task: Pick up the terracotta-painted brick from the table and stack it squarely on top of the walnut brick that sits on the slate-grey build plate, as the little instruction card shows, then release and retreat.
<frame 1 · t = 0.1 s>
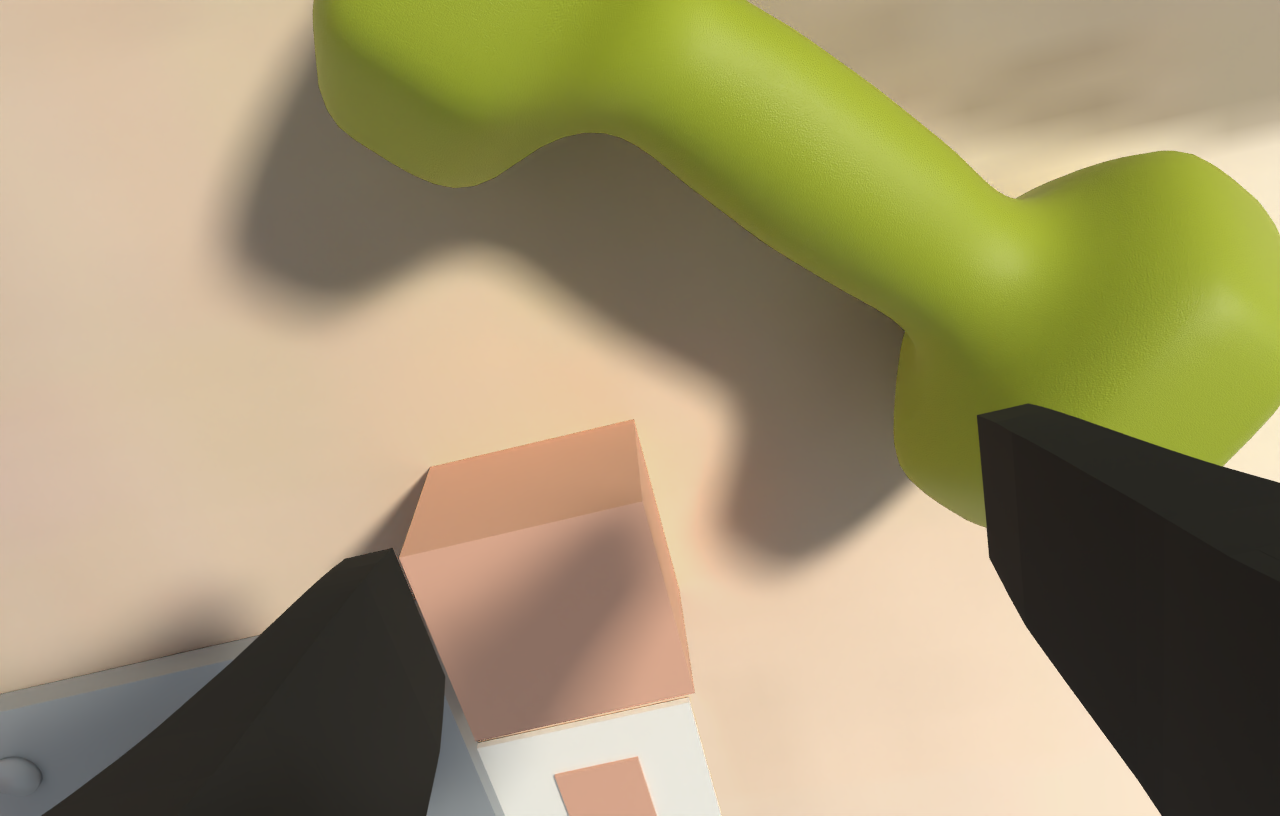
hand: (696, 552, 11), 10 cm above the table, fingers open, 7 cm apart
dumbbell: (777, 137, 19), on the table
terracotta block: (559, 527, 23), on the table
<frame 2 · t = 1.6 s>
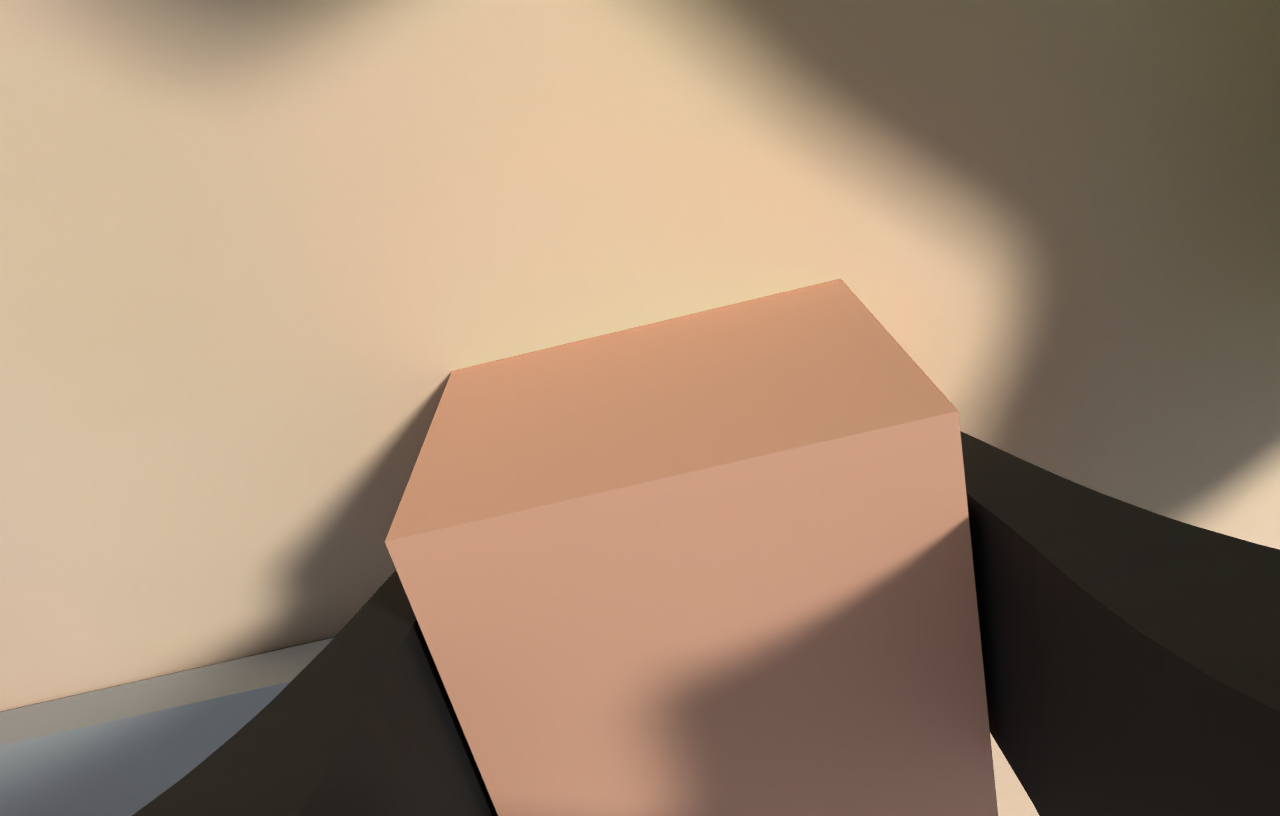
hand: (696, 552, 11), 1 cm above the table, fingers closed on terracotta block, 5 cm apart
terracotta block: (685, 494, 12), on the table, touching gripper
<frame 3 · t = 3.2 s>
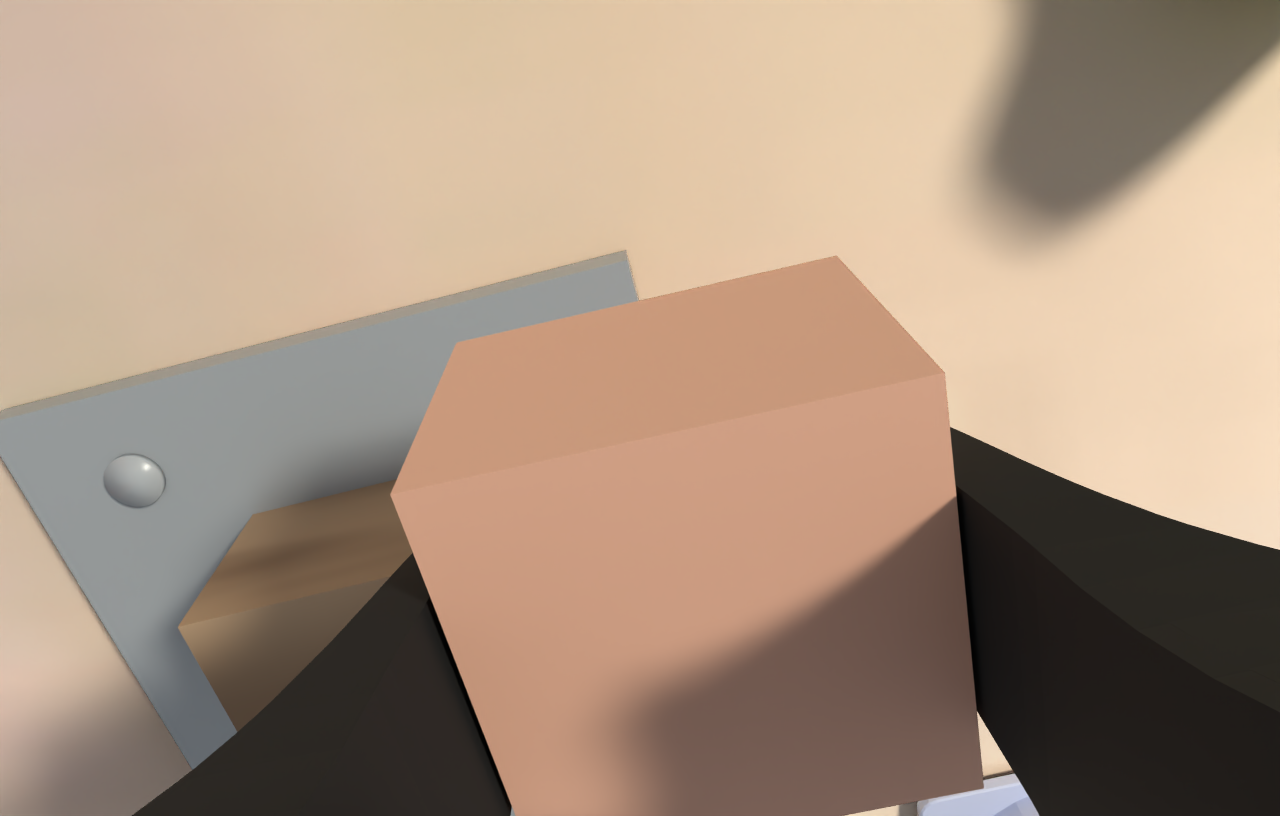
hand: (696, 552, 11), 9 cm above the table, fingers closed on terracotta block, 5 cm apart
build plate: (419, 593, 22), on the table
walnut block: (398, 579, 21), point 1 cm above the table, touching build plate
terracotta block: (683, 467, 13), point 8 cm above the table, touching gripper
when the fingers open (7 cm above the table, at t = 4.6 s): terracotta block stays where it is, resting on walnut block.
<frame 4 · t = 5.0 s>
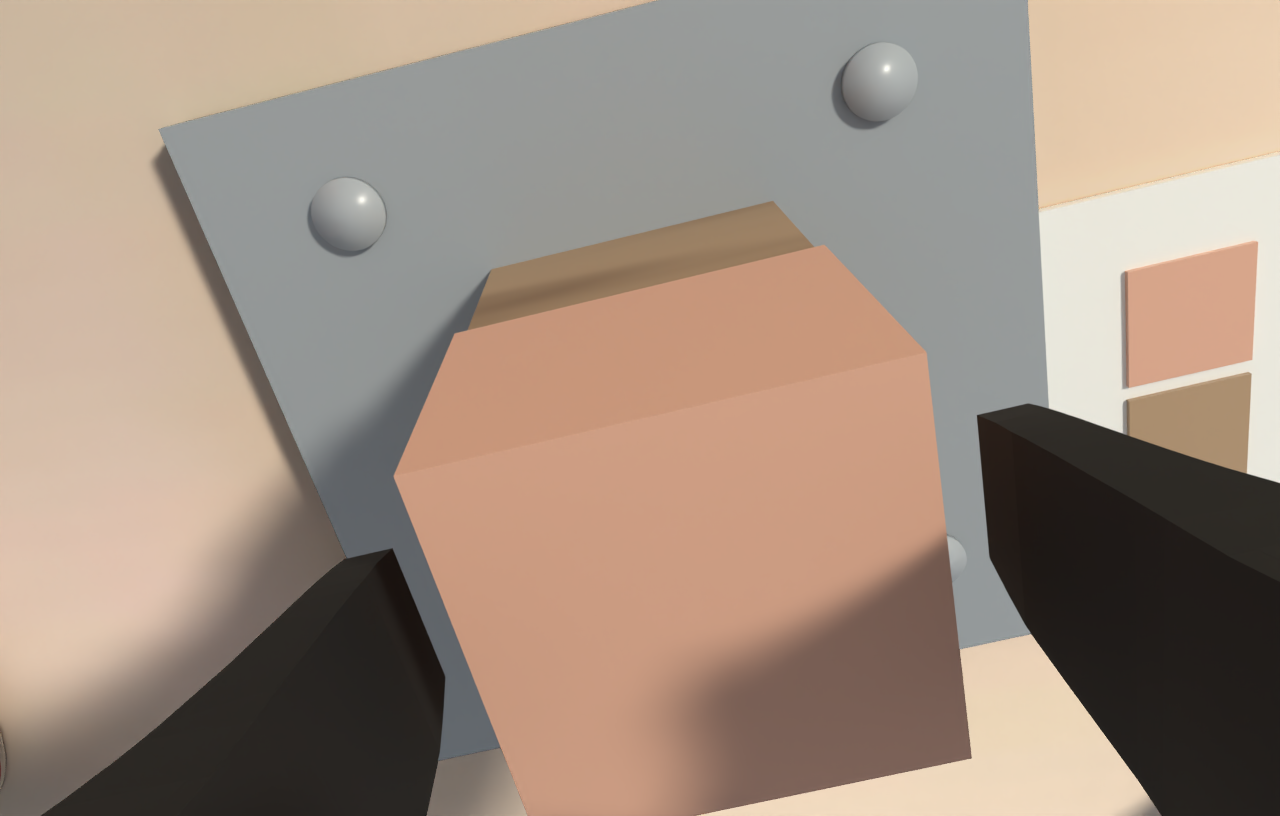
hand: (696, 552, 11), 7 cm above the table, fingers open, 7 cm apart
build plate: (670, 397, 18), on the table
walnut block: (662, 366, 17), point 1 cm above the table, touching build plate, terracotta block
instruction card: (1181, 372, 18), on the table
terracotta block: (677, 453, 13), point 5 cm above the table, touching walnut block
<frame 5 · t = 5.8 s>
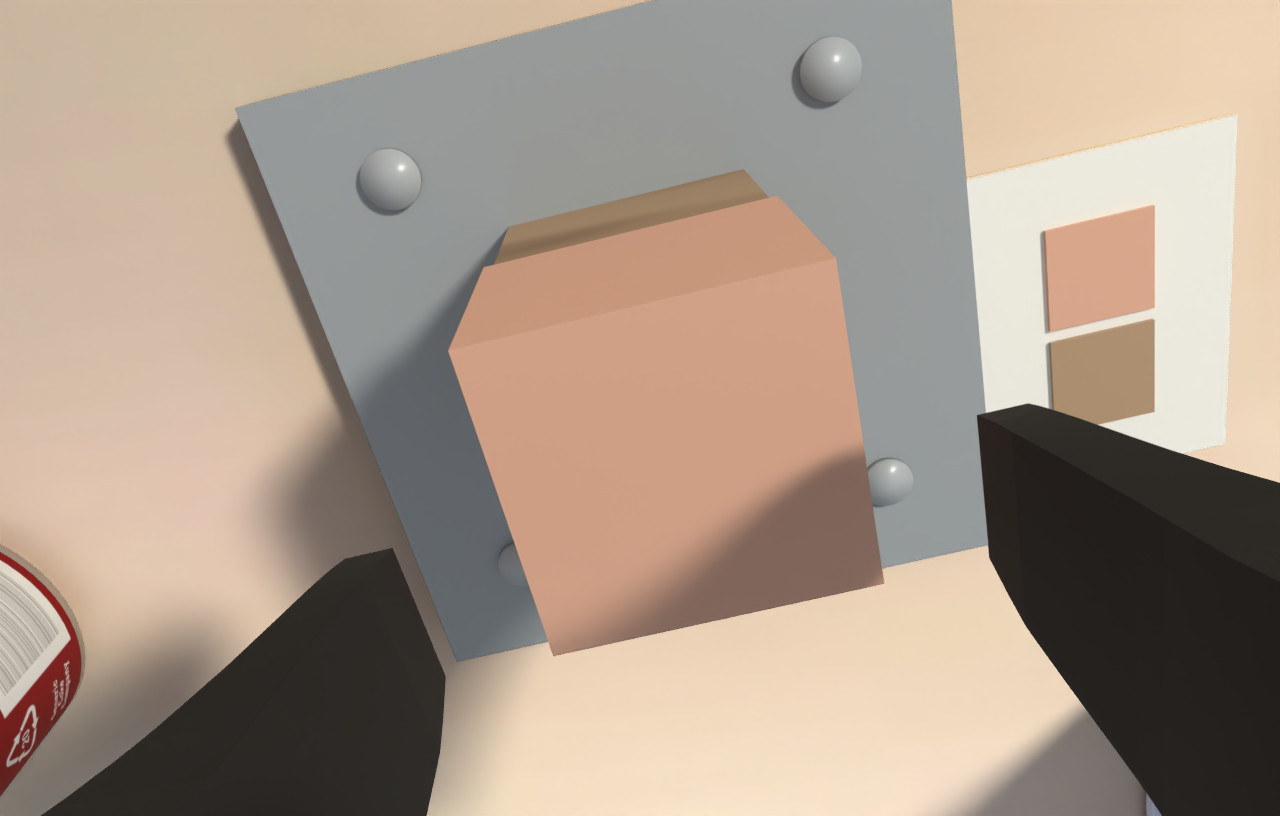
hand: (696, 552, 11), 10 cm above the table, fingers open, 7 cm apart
build plate: (659, 339, 21), on the table
walnut block: (652, 310, 20), point 1 cm above the table, touching build plate, terracotta block
instruction card: (1095, 319, 21), on the table
terracotta block: (662, 368, 16), point 5 cm above the table, touching walnut block
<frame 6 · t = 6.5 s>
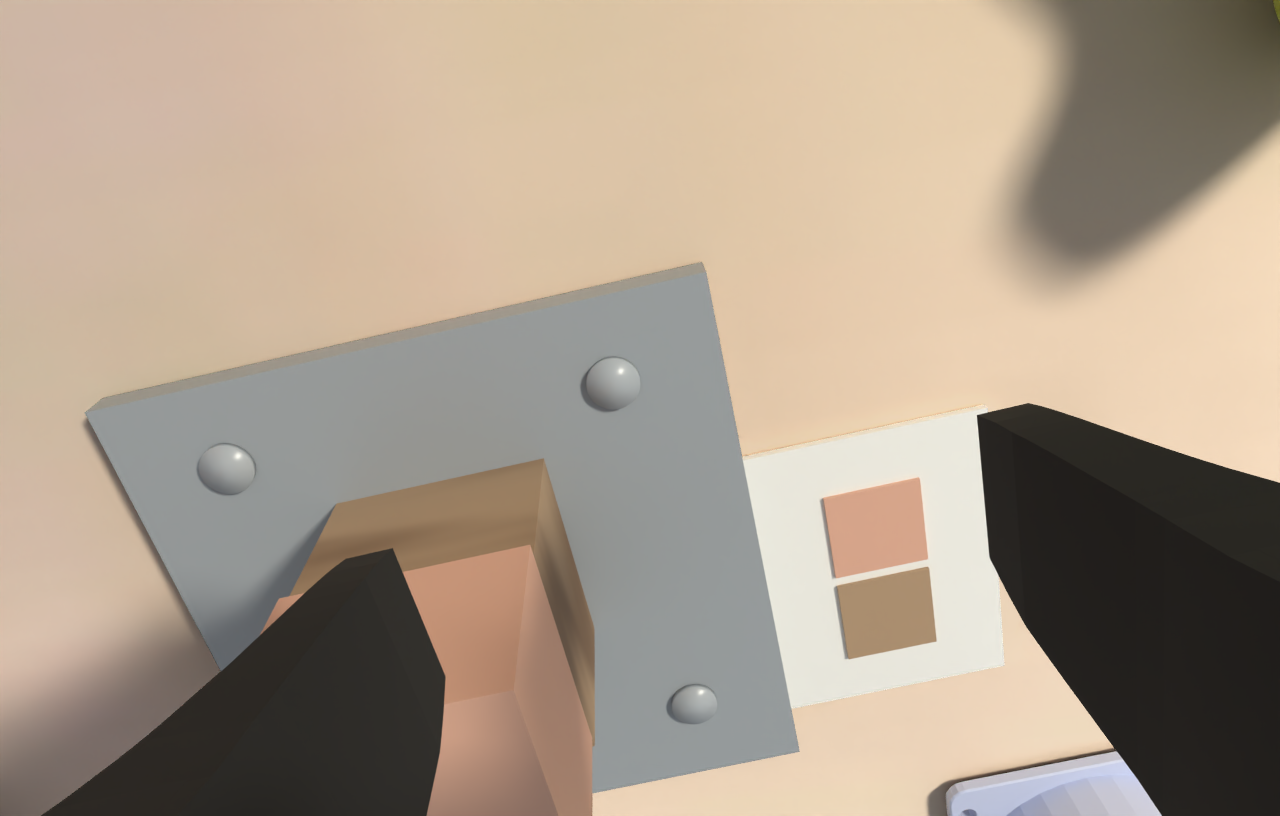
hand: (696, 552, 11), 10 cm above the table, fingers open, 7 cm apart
build plate: (485, 582, 23), on the table
walnut block: (470, 568, 22), point 1 cm above the table, touching build plate, terracotta block
instruction card: (879, 565, 24), on the table
terracotta block: (443, 671, 18), point 5 cm above the table, touching walnut block
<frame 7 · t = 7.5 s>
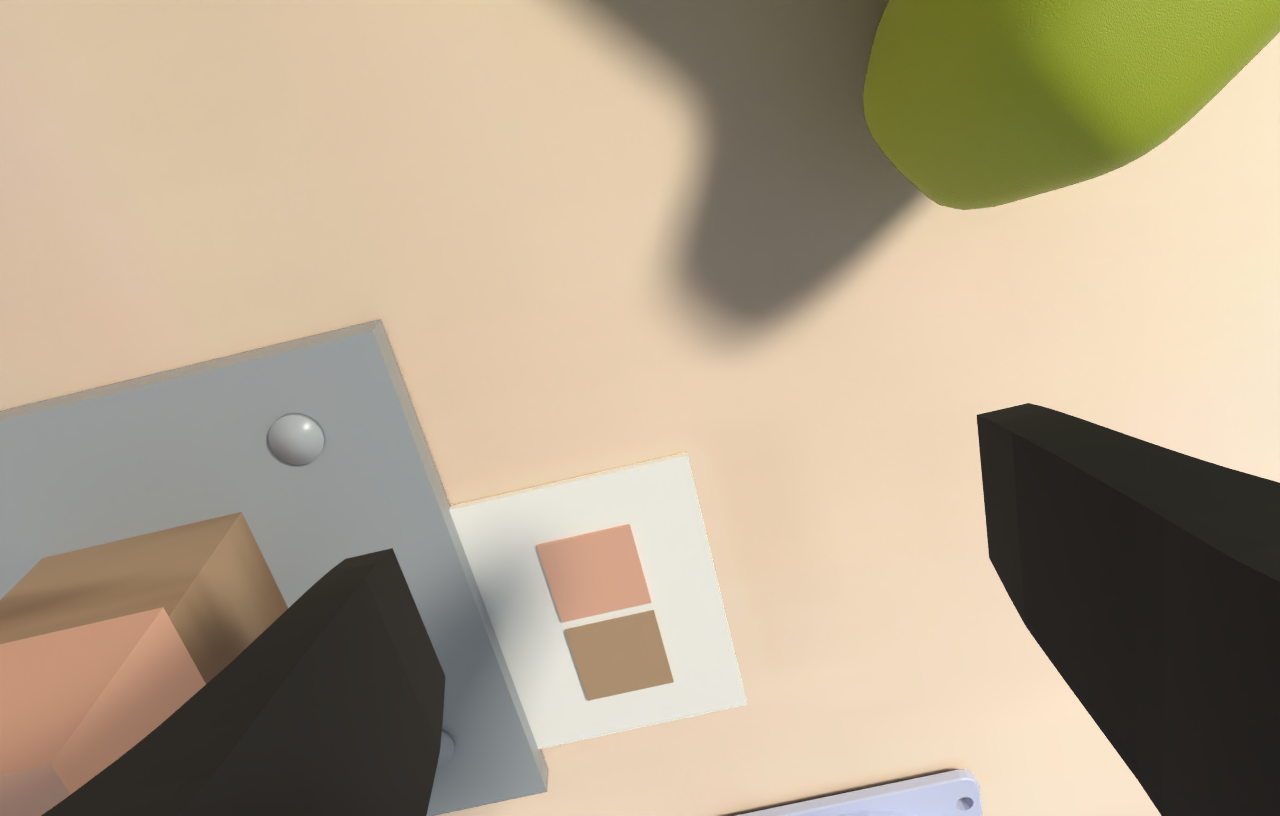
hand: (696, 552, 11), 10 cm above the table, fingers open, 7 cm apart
build plate: (216, 630, 24), on the table
walnut block: (186, 618, 23), point 1 cm above the table, touching build plate, terracotta block
instruction card: (607, 608, 24), on the table
terracotta block: (102, 729, 19), point 5 cm above the table, touching walnut block
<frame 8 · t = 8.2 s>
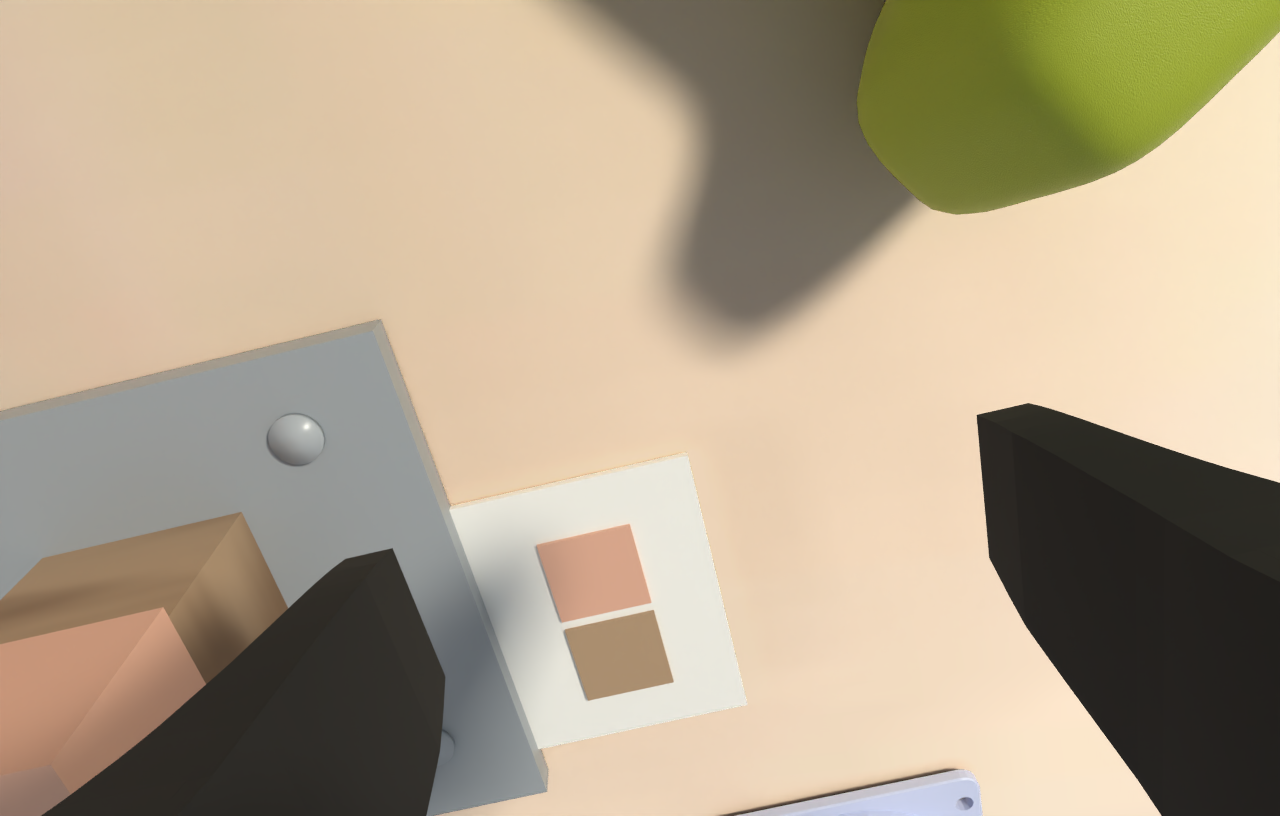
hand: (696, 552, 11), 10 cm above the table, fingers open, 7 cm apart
build plate: (216, 630, 24), on the table
walnut block: (186, 618, 23), point 1 cm above the table, touching build plate, terracotta block
instruction card: (607, 608, 24), on the table
terracotta block: (102, 729, 19), point 5 cm above the table, touching walnut block
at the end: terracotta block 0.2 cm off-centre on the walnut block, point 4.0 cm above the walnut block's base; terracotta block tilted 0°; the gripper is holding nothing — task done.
